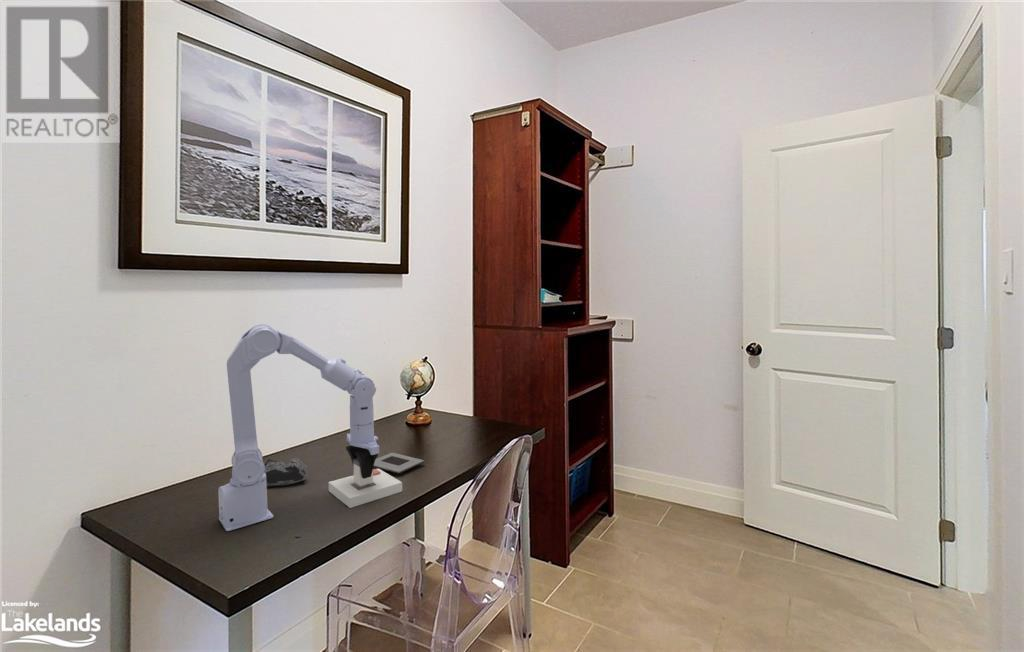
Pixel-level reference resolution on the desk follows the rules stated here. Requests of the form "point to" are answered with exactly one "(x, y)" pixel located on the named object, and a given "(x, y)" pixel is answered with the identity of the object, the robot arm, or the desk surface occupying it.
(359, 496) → the socket plate
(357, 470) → the plug
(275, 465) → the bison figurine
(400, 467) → the electrical outlet
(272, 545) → the desk surface
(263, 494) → the robot arm
